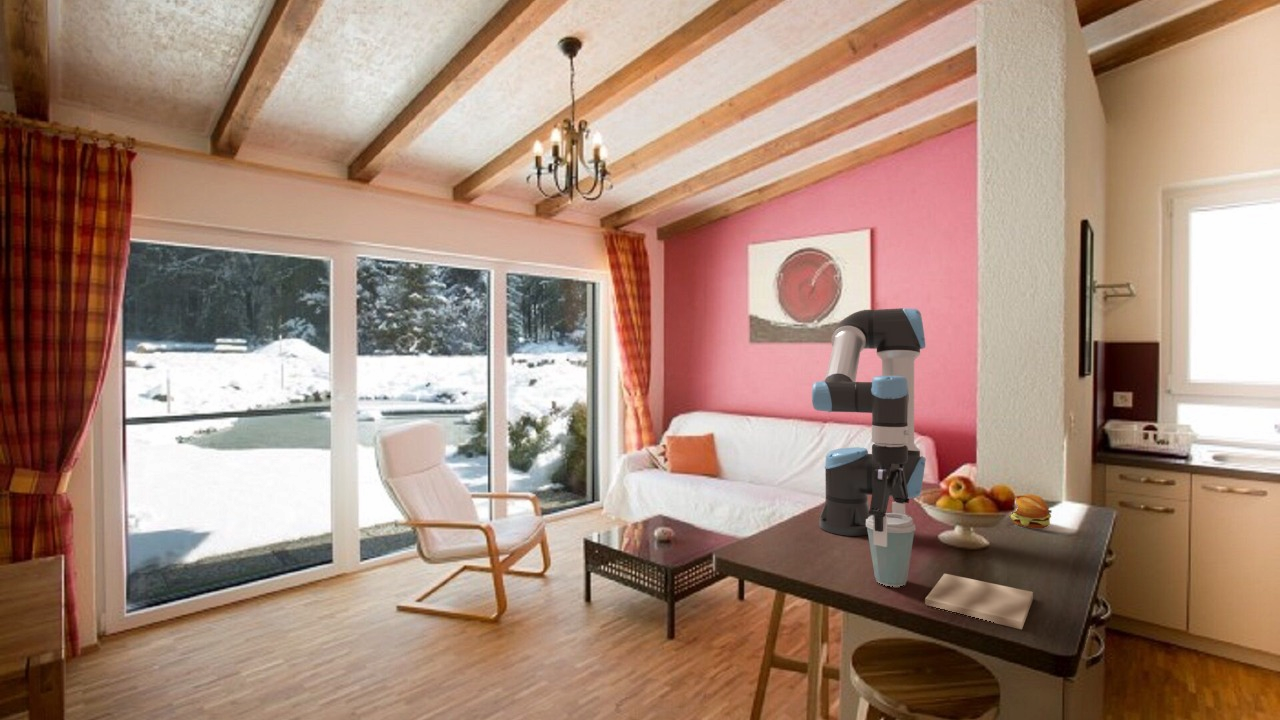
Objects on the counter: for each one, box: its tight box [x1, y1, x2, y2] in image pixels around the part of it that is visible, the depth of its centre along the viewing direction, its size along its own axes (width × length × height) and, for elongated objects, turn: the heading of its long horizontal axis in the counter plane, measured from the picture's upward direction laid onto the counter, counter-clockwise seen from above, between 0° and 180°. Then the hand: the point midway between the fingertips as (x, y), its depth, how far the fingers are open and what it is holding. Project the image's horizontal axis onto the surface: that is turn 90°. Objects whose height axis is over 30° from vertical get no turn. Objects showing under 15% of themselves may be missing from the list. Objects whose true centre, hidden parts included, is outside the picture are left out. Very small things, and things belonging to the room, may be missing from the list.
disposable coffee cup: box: [866, 512, 917, 588], centre depth 137 cm, size 11×11×15 cm
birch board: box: [924, 573, 1034, 630], centre depth 126 cm, size 17×17×2 cm
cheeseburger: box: [1010, 493, 1053, 530], centre depth 177 cm, size 10×11×10 cm
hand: (889, 537), depth 137 cm, fingers open, 13 cm apart
